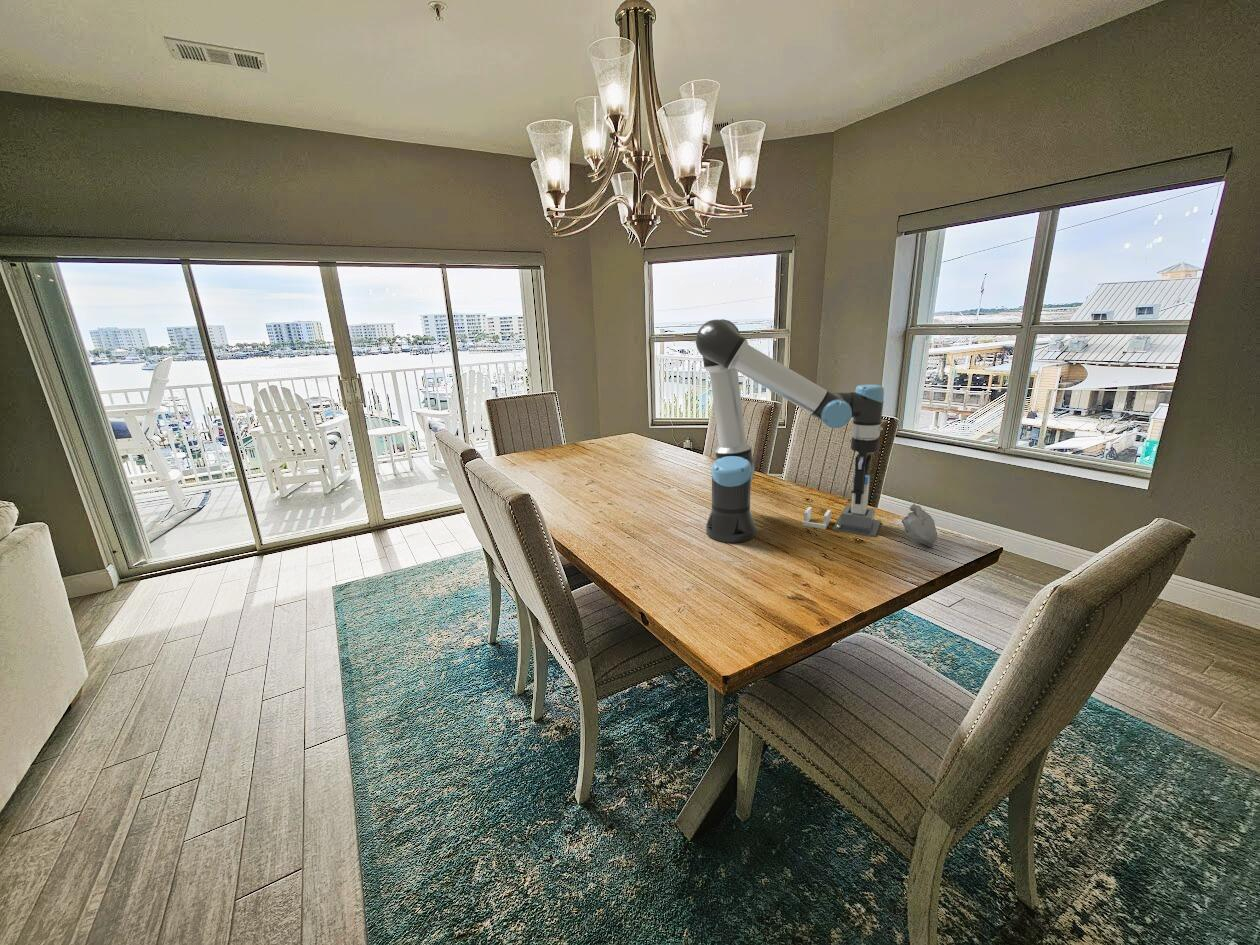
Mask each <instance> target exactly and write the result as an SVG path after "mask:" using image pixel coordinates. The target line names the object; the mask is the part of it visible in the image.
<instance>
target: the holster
mask: <svg viewBox="0 0 1260 945" xmlns="http://www.w3.org/2000/svg"><path fill="white" fill-rule="evenodd" d="M831 516H832V510H831V509H827V510H826V512H825V513H824V514H823V518H822V520H823V521H822V523H820V522H819V523H818V522H813V521H812V522H811V519H812V506H808V507H807V508H806V509H805V511H804V512H803V521H802V524H801V526H802V527H803V526H804V527H810V528H815V529H821V530H826V529H827V527H828V526H829V524H830V523H831Z"/></svg>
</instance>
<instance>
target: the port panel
mask: <svg viewBox="0 0 1260 945" xmlns="http://www.w3.org/2000/svg"><path fill="white" fill-rule="evenodd" d="M875 514H876V508H871V507H867V516H866V515H859V514H853V513H851V505H849V504H846V505H845V507H844V509H843V510H842V512H841V514H839V516H838V518H837V520H836V521H835V523H834V526H832V531H837V532H843V533H847V534H854V535H859V536H865V537H871V538H876V536H877V534H878V532H879V528H880V525H881V523H882V520H879V519H875Z"/></svg>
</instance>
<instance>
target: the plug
mask: <svg viewBox="0 0 1260 945" xmlns="http://www.w3.org/2000/svg"><path fill="white" fill-rule="evenodd" d="M852 478H853V479H852V490H851V492H852V491H853V490H854V479H855V474H854V475H853V477H852ZM870 478H871V475H870V474H869V475H866V476H865V484H864V500H863V510H862V514H859V515H866V516H867V508H868V503H869V502H868V500H869V490H870ZM853 499H854V493H851V505H850V506H851V513H852V510H853ZM853 514H857V513H853Z"/></svg>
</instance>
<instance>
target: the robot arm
mask: <svg viewBox="0 0 1260 945" xmlns="http://www.w3.org/2000/svg"><path fill="white" fill-rule="evenodd" d="M695 336H696V337H695V345H696V349H697V351H698V353H699V354H700V355H701V356H702V362H703V368H704V369H706V370H707V371H708V372H709V375H710V384H711V394H712V399H713V407H714V416H715V422H716V423H715V424H716V430H717V439H718V446H717V448H716V449H715V450H714V451H715V453H714V454H715V460H714V462H713V463H712V466H711V472H710V474H711V510H710V513H709V516H708V519H707V521H706V525H705V534H706V535H707V536H708V537H709V538H710V539H712V540H714V541H715V540H716V541H718V542H723V543H730V544H731V543H734V544H735V543H745V542H747V541H750V540H752V539H753V538H754V537H755V536H756V525H755V522H754V519H753V516H752V512H751V494H752V493H751V487H752V482H753V478H754V475H755V472H756V463H755V460H754V458H753V452H752V451H753V450H752V445H751V444H750V443H748V442H747V440H746V432H745V423H744V415H743V407H742V399H741V397H742V396H741V390H740V388H741V387H740V381H739V373H740V374H742V375H744V376H745V377H747V378H749V379H751V380H752V381H754V382H756V383H758V384H759V385H761V386H763V387H764V388H766V389H768V390H770V391H771V392H773V393H774V394H776V395H778V396H780V397H782V398H783V399H785V400H787V401H788V402H790V403H791V404H793V405H796V407H799V408H800V409H802V410H803V411H805V412H807V413H809V414H810V415H811V417H812V418H817V419H819V420H820V421H822V422H823V424H825V426H827V427H829V428H832V429H841V428H844V427H845V426H846V425H848V424H849V422H850V421H851V420H852V419H853V420H852V426H851V436H852V437H851V440H850V441H851V442H850V449H851V450H852V451H854V452H857V453H858V454H857V455H856V456H855V459H854V462H855V463H854V466H855V468H854V475H855V479H854V490H853V489H852V490H853V491H852V490H851V494H852V493H854V499H853V510H852V513H857V514H862V510H863V500H864V484H865V476H866V475H870V474H869V473H870V467H871V461H872V454H871V453H876V452H878V451H879V448H880V439H879V437H880V434H881V431H883V430H884V428H883V427H881V426H882V416H883V409H884V408H883V407H884V403H885V401H884V399H885V398H884V394H885V392H884V391H885V390H884V389H885V388H884V387H883V386H882V385H879V384H860V385H857V386H856V387H855V390H854V391H851V392H830V391H829V390H827V389H826V388H824V387H821V386H820V385H818V384H816V383H814V382H813V381H811V380H810V379H808V378H806V377H804V376H803V375H801V374H800V373H798V372H796V371H794V370H792V369H790V368H789V367H787V366H786V365H783V364H782V363H780V362H779V361H777V360H775V359H773V358H772V357H770V356H768V355H767V354H765V353H763V352H761V351H760V350H758V349H757V348H754V347H753V346H751V345H749V342H748V339H747V338H745V337H744V336H741V333H740V331H739V329H738V327H737V326H736V325H735V323H733V322H732V321H730V320H728V319H712V320H708V321H706V322H705V323H704V324H702V325H701V327H699V329H698V330H697V333H696V335H695Z"/></svg>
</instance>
